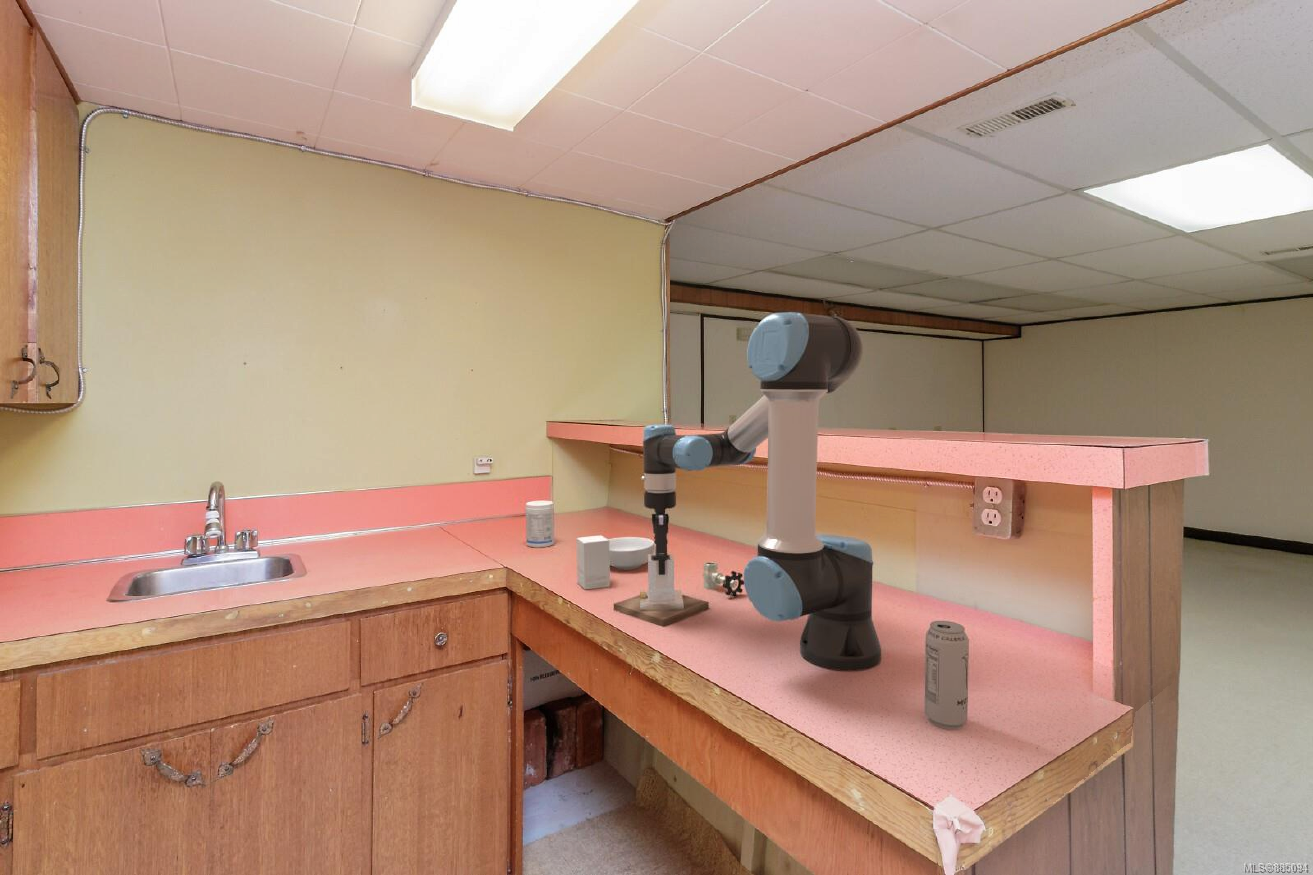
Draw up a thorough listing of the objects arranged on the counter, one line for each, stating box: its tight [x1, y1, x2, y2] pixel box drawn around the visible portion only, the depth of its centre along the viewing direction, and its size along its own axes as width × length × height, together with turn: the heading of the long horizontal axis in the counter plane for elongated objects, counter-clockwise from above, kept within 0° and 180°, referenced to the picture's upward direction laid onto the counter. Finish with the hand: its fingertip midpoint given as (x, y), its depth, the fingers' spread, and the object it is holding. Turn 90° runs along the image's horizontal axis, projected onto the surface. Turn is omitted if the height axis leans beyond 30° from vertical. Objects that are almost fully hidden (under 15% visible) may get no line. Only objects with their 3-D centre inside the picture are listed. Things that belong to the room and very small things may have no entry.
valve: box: [702, 561, 744, 598], centre depth 164 cm, size 7×7×12 cm
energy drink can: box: [924, 620, 970, 730], centre depth 97 cm, size 6×6×15 cm
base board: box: [613, 591, 710, 627], centre depth 150 cm, size 16×16×8 cm
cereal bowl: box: [607, 536, 655, 571], centre depth 189 cm, size 17×17×7 cm
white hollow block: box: [639, 553, 684, 610], centre depth 150 cm, size 10×10×11 cm
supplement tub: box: [525, 500, 555, 549], centre depth 217 cm, size 10×10×15 cm
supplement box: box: [576, 535, 611, 591], centre depth 170 cm, size 7×7×13 cm
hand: (660, 579), depth 150 cm, fingers open, 13 cm apart
